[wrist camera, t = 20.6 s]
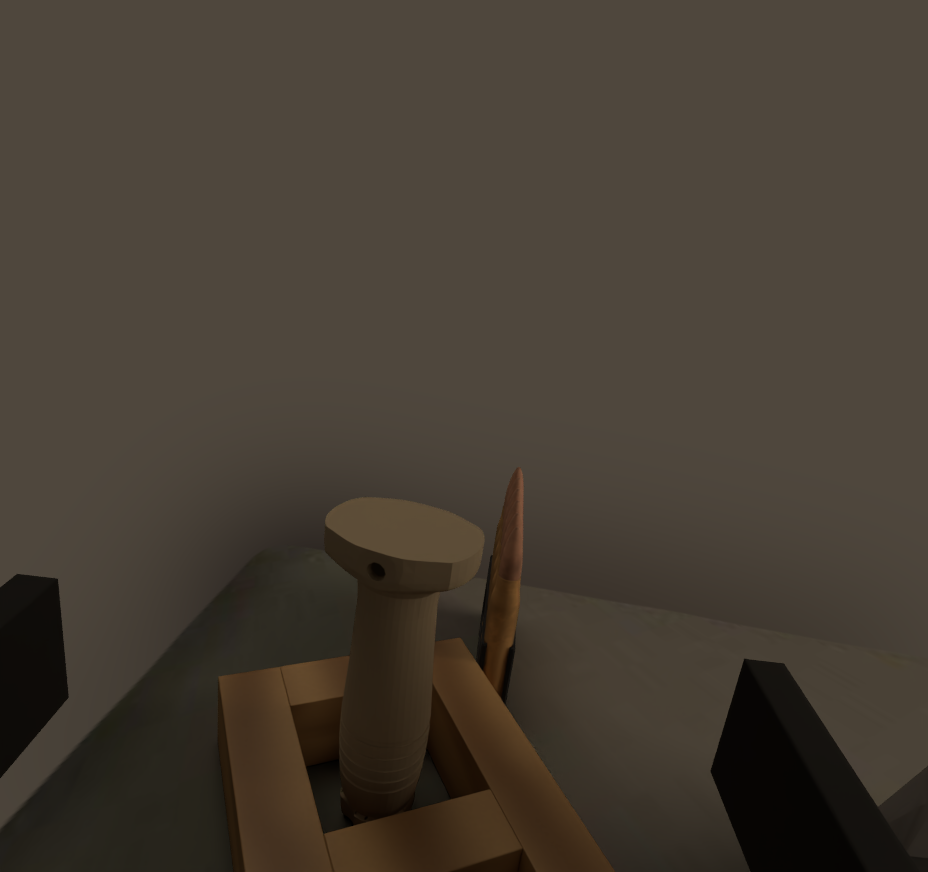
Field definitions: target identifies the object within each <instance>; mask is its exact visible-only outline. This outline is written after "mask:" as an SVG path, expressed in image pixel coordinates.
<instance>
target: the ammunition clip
mask: <svg viewBox="0 0 928 872" xmlns="http://www.w3.org/2000/svg"><path fill="white" fill-rule="evenodd" d="M523 490H524V485H523V475H522V471H521V468H520V467H518V468H517V469H516V470H515V472H514V473H513V475H512V477H511V480H510V483H509V485H508V488H507V492H506V496H505V502H504V506H503V510H502V515H501V518H500V520H499V523H498V527H497V531H496V538H495V544H494V550H493V555H492V556H491V557H490V564H489V570H488V577H487V583H486V589H485V596H484V602H483V609H482V615H481V623H480V632H479V641H478V650H477V659H476V662H477V663H478V665H479V666H480V668H481V669H482V671H483V673H484V674H485V676H486V677H487V679H488V680H489V682H490V683H491V685H492V686H493V688H494V689H495V691H496V692H497V694H498V695H499V697H500V698H501V700H502V701H503V703H504V704H505V705H506V699H507V693H508V687H509V682H510V676H511V670H512V664H513V659H514V653H515V632H516V624H517V618H518V612H519V606H520V580H521V570H522V561H523Z"/></svg>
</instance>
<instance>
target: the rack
mask: <svg viewBox="0 0 928 872" xmlns="http://www.w3.org/2000/svg"><path fill="white" fill-rule="evenodd" d="M349 657H350V655H349V656H343V657H336V658H330V659H324V660H318V661H312V662H305V663H299V664H293V665H287V666H281V667H275V668H269V669H262V670H256V671H250V672H244V673H238V674H231V675H225V676H219V677H218V747H219V756H220V764H221V772H222V781H223V789H224V797H225V806H226V814H227V822H228V830H229V839H230V847H231V855H232V864H233V872H615V871H614V869H613V868H612V866H611V865H610V863H609V862H608V860H607V859H606V857H605V856H604V854H603V853H602V851H601V849H600V848H599V846H598V845H597V843H596V842H595V840H594V839H593V837H592V836H591V834H590V833H589V831H588V830H587V828H586V827H585V825H584V824H583V822H582V821H581V819H580V818H579V816H578V815H577V813H576V812H575V810H574V809H573V807H572V806H571V804H570V803H569V801H568V800H567V798H566V797H565V795H564V794H563V792H562V790H561V789H560V787H559V786H558V784H557V783H556V781H555V780H554V778H553V777H552V775H551V774H550V772H549V771H548V769H547V768H546V766H545V765H544V763H543V762H542V760H541V759H540V757H539V756H538V754H537V753H536V751H535V750H534V748H533V747H532V745H531V744H530V742H529V741H528V739H527V738H526V736H525V735H524V733H523V732H522V730H521V728H520V727H519V725H518V724H517V722H516V721H515V719H514V718H513V716H512V715H511V713H510V712H509V710H508V709H507V707H506V706H505V704H504V703H503V701H502V700H501V698H500V697H499V695H498V694H497V692H496V691H495V689H494V688H493V686H492V685H491V683H490V682H489V680H488V679H487V677H486V676H485V674H484V673H483V671H482V669H481V668H480V666H479V665H478V663H477V662H476V660H475V659H474V657H473V656H472V654H471V653H470V651H469V650H468V648H467V647H466V645H465V644H464V642H463V641H462V639H461V638H454V639H448V640H442V641H435V645H434V661H433V681H432V701H431V717H430V727H429V734H428V741H427V747H426V748H427V750H428V752H429V754H430V756H431V758H432V760H433V762H434V764H435V766H436V769H437V771H438V773H439V775H440V777H441V779H442V781H443V783H444V785H445V787H446V789H447V792H448V794H449V796H450V798H451V800H447V801H444V802H440V803H436V804H432V805H429V806H425V807H421V808H418V809H414V810H410V811H406V812H403V813H399V814H395V815H392V816H388V817H384V818H380V819H377V820H373V821H369V822H366V823H362V824H358V825H354V826H351V827H347V828H343V829H340V830H336V831H332V832H328V833H325V834H323V830H322V827H321V823H320V819H319V815H318V811H317V808H316V804H315V800H314V796H313V792H312V788H311V785H310V781H309V777H308V773H307V769H306V767H307V766H311V765H315V764H320V763H324V762H329V761H333V760H338V759H339V731H340V718H341V708H342V701H343V695H344V689H345V682H346V676H347V670H348V663H349Z"/></svg>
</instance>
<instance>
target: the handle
mask: <svg viewBox="0 0 928 872" xmlns="http://www.w3.org/2000/svg"><path fill="white" fill-rule="evenodd" d="M484 539H485V537H484V534H483V531H482V530H481V528H479V527H477V526H475V525H474V524H472V523H470V522H468V521H467V520H465V519H463V518H461V517H459V516H457V515H455V514H453V513H451V512H448V511H445V510H441V509H439V508H435V507H431V506H427V505H424V504H420V503H416V502H411V501H406V500H399V499H387V498H373V497H363V498H357V499H353V500H349V501H347V502H344V503H342V504H340V505H339V506H337V507H335V508H334V509H333V510H331V511H330V512H329V514H328V515H327V517H326V521H325V536H324V544H325V552H326V553H327V554H328V555H329V556H330V557H331V558H332V559H333V560H334V561H335V562H336V563H337V564H338V565H339V566H341V567H342V568H343V569H344V570H345V571H347V572H348V573H349V574H351V575H352V576H353V577H355V578H356V579H358V599H357V606H356V614H355V621H354V629H353V636H352V644H351V651H350V657H349V663H348V670H347V676H346V682H345V689H344V695H343V701H342V708H341V718H340V731H339V763H340V777H341V783H342V788H341V791H340V795H341V809H342V813H343V814H344V815H345V816H347V817H348V818H350V820H351V821H352V822H353V824H354V825H358V824H362V823H366V822H369V821H373V820H377V819H380V818H384V817H388V816H392V815H395V814H399V813H403V812H406V811H410V810H411V807H412V805H413V801H414V797H415V789H416V786H417V783H418V780H419V777H420V773H421V769H422V765H423V761H424V756H425V752H426V747H427V741H428V734H429V727H430V717H431V701H432V681H433V661H434V645H435V632H436V618H437V605H438V599H439V595H440V592H443V591H449V590H452V589H455V588H458V587H460V586H462V585H464V584H465V583H467V582H468V581H470V580H471V579H472V578H473V577H474V576H475V575H476V573H477V571H478V569H479V567H480V563H481V558H482V552H483V545H484Z"/></svg>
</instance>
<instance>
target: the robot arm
mask: <svg viewBox="0 0 928 872" xmlns="http://www.w3.org/2000/svg"><path fill="white" fill-rule="evenodd" d="M66 675H67V674H66V663H65V652H64V641H63V631H62V620H61V608H60V597H59V586H58V579H55V578H47V577H38V576H30V575H21V574H17V575H15V576H14V577H13V578H12V579H11V580H9V581H8V582H7V583H5V584H4V585H3V586H2V587H0V778H1V777H2V775H3V774H4V773H5V772H6V771H7V770H8V768H9V767H10V766H11V765H12V764H13V763H14V761H15V760H16V759H17V758H18V757H19V755H20V754H21V753H22V752H23V751H24V749H25V748H26V747H27V746H28V745H29V744H30V742H31V741H32V740H33V739H34V738H35V737H36V735H37V734H38V733H39V732H40V731H41V729H42V728H43V727H44V726H45V725H46V724H47V722H48V721H49V720H50V719H51V718H52V716H53V715H54V714H55V713H56V712H57V710H58V709H59V708H60V707H61V706H62V705H63V703H64V702H65V701H66V700H67V699H68V687H67V686H68V685H67V676H66ZM711 774H712V776H713V779H714V781H715V784H716V786H717V789H718V791H719V794H720V796H721V799H722V801H723V804H724V806H725V809H726V811H727V814H728V816H729V819H730V821H731V824H732V826H733V829H734V831H735V834H736V836H737V839H738V841H739V844H740V846H741V849H742V851H743V854H744V856H745V859H746V861H747V864H748V866H749V869H750V871H751V872H928V766H927V767H926V768H925V769H924V770H922V771H921V772H920V773H919V774H918V775H916V776H915V777H914V778H913V779H912V780H910V781H909V782H908V783H907V784H905V785H904V786H903V787H902V788H901V789H899V790H898V791H897V792H896V793H895V794H893V795H892V796H891V797H890V798H889V799H887V800H886V801H885V802H884V803H882V804H881V805H880V806H879V807H877V805H876V804H875V802H874V801H873V799H872V798H871V796H870V795H869V793H868V792H867V790H866V788H865V787H864V785H863V784H862V782H861V781H860V779H859V778H858V776H857V775H856V773H855V772H854V770H853V769H852V767H851V765H850V764H849V762H848V761H847V759H846V758H845V756H844V755H843V753H842V752H841V750H840V749H839V747H838V746H837V744H836V743H835V741H834V739H833V738H832V736H831V735H830V733H829V732H828V730H827V729H826V727H825V726H824V724H823V723H822V721H821V720H820V718H819V716H818V715H817V713H816V712H815V710H814V709H813V707H812V706H811V704H810V703H809V701H808V700H807V698H806V697H805V695H804V694H803V692H802V690H801V689H800V687H799V686H798V684H797V683H796V681H795V680H794V678H793V677H792V675H791V674H790V672H789V671H788V669H787V668H786V666H785V664H783V663H775V662H766V661H757V660H749V659H744V662H743V665H742V668H741V672H740V675H739V678H738V682H737V685H736V688H735V692H734V695H733V698H732V702H731V705H730V708H729V712H728V715H727V718H726V722H725V725H724V728H723V732H722V735H721V738H720V742H719V745H718V748H717V752H716V755H715V758H714V762H713V765H712V768H711Z"/></svg>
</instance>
